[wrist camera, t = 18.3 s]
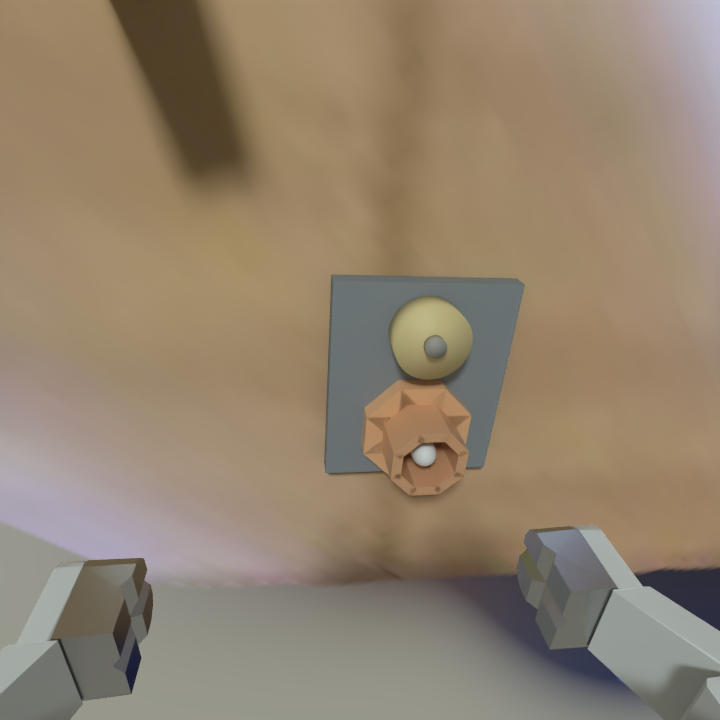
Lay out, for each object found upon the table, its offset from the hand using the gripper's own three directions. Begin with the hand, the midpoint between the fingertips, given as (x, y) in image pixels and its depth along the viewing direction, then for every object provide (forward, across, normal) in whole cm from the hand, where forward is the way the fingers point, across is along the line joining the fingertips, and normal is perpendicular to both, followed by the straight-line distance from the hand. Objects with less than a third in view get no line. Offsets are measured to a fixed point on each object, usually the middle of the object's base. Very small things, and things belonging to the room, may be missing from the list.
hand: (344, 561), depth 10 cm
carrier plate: (+28, -9, +12) cm, 32 cm away
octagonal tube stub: (+27, -9, +16) cm, 32 cm away
